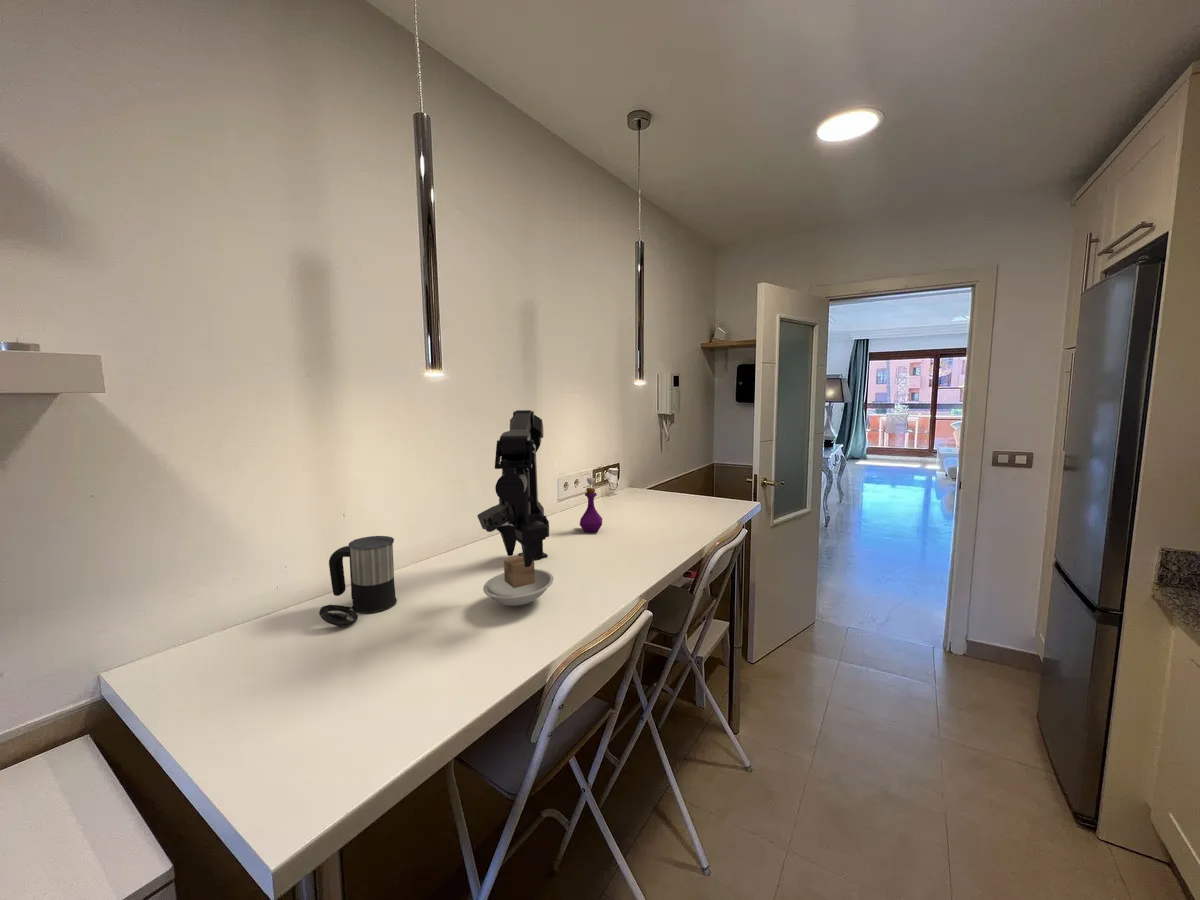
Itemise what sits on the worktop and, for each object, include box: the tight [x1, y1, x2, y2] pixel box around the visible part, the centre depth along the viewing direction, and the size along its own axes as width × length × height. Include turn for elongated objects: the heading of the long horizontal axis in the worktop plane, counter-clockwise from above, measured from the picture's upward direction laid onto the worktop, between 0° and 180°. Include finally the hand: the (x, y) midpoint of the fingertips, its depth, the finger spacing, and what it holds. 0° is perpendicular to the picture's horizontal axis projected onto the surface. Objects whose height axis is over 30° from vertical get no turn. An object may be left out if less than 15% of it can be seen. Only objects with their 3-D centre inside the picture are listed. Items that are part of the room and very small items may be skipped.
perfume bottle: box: [579, 477, 603, 533], centre depth 169 cm, size 8×8×18 cm
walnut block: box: [503, 555, 535, 588], centre depth 112 cm, size 5×5×5 cm
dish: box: [482, 568, 554, 607], centre depth 113 cm, size 18×14×5 cm
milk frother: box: [318, 535, 398, 628], centre depth 108 cm, size 14×16×15 cm
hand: (518, 561), depth 112 cm, fingers open, 9 cm apart
